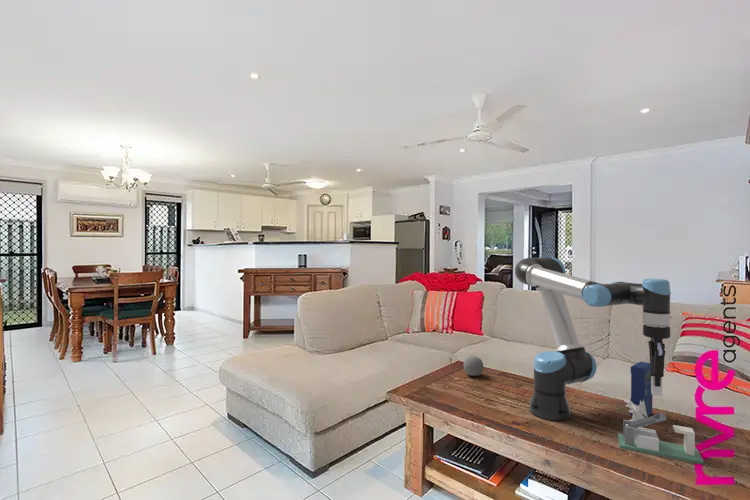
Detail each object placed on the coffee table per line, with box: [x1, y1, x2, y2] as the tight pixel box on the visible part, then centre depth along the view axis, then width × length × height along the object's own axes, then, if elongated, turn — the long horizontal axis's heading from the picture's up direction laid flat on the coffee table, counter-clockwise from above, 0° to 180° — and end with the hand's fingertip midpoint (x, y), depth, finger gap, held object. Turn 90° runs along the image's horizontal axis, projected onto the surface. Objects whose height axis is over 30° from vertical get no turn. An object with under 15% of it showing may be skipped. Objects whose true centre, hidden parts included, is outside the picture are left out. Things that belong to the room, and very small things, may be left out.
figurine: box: [623, 398, 648, 428], centre depth 144 cm, size 11×8×12 cm
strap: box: [625, 412, 667, 428], centre depth 132 cm, size 12×4×2 cm, turn 62°
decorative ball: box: [463, 355, 485, 377], centre depth 203 cm, size 10×10×10 cm
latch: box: [672, 424, 696, 456], centre depth 128 cm, size 5×4×7 cm
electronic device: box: [629, 361, 654, 418], centre depth 156 cm, size 10×5×20 cm, turn 127°
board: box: [617, 419, 705, 465], centre depth 131 cm, size 22×9×7 cm, turn 63°
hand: (656, 394), depth 133 cm, fingers closed
